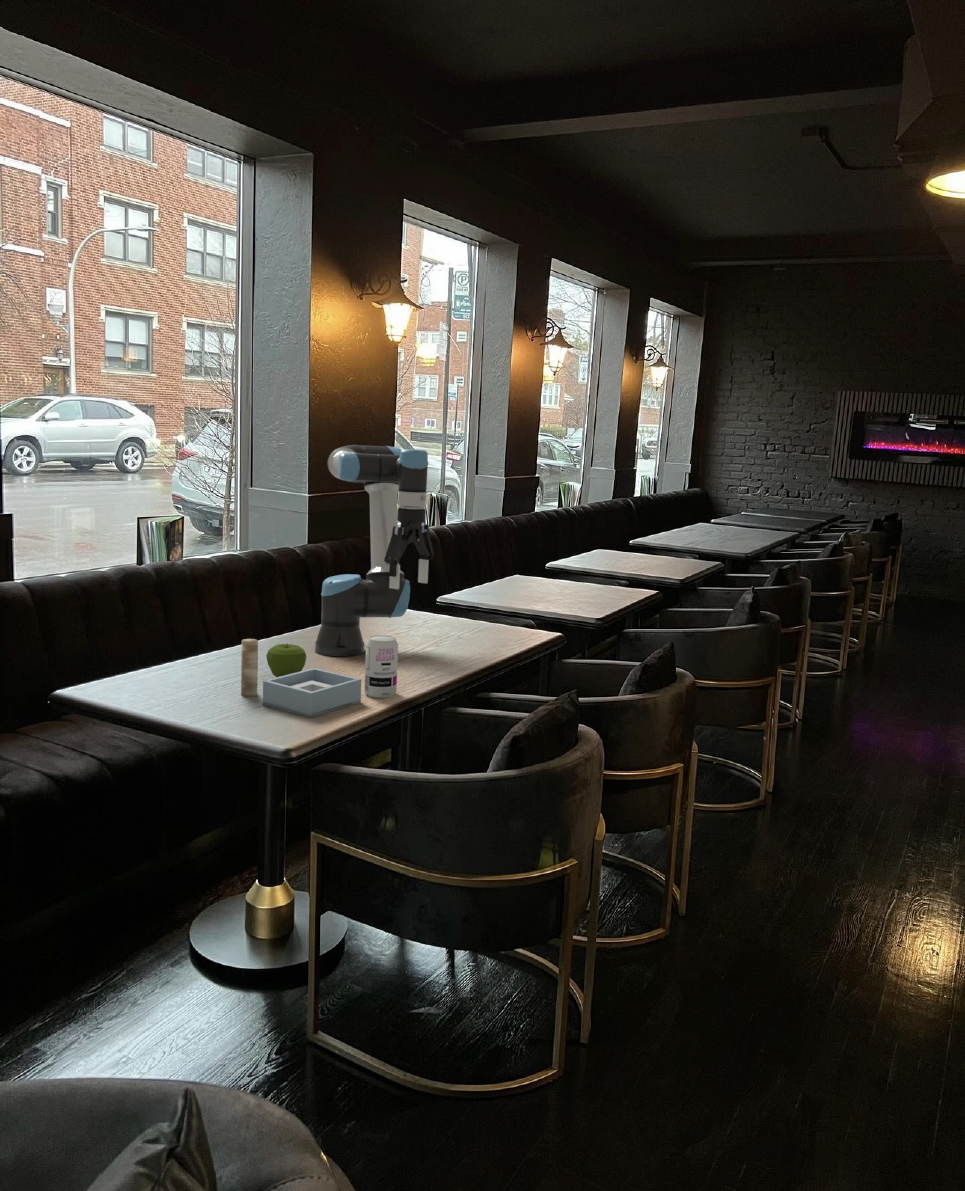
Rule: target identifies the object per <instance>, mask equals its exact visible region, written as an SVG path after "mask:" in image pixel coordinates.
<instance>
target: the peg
mask: <svg viewBox="0 0 965 1191" xmlns="http://www.w3.org/2000/svg"><path fill="white" fill-rule="evenodd" d="M258 656H259V641H258V639H255V638H246V639H245V638H244V639H242V640H241V660H240V661H241V666H240V667H241V668H240V669H241V670H240V671H241V673H240V674H241V676H240V677H241V678H240V680H241V681H240V682H241V683H240V684H241V686H240V688H241V689H240V695H241V696H242V697H247V698H248V697H249V698H250V697H256V696H258V680H259V679H258V676H259V673H258V669H259V668H258V666H259V664H258V663H259V661H258V660H259V659H258V658H259V657H258Z"/></svg>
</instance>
